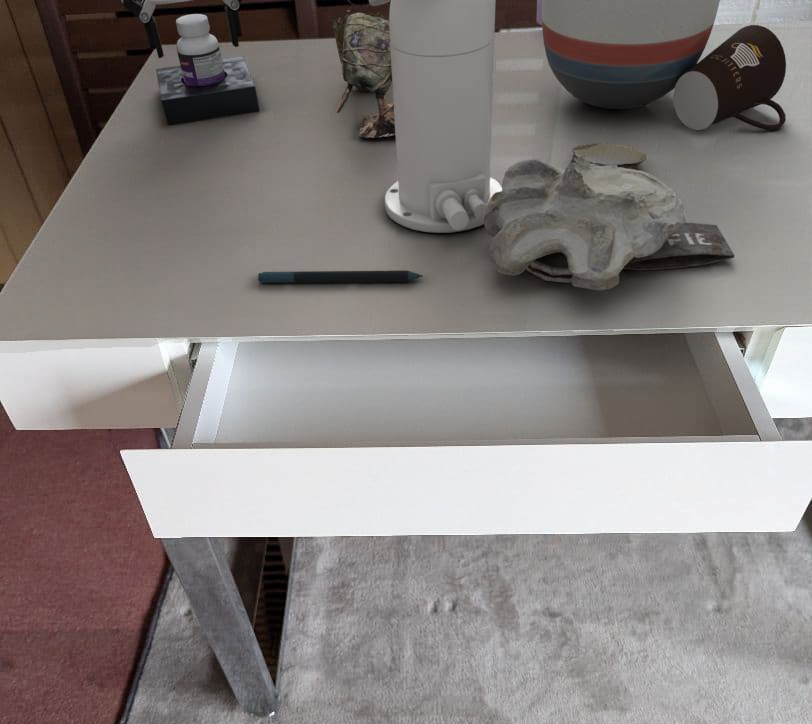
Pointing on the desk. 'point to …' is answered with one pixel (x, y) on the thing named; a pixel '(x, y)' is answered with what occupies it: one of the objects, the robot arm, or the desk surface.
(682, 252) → the dark snack bar packet
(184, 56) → the pill bottle
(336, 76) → the desk surface
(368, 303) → the desk surface
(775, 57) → the coffee mug
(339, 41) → the green rounded lump
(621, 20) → the planter
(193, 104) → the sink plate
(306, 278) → the pen
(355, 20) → the plant with pod
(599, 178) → the fossil
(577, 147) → the seashell
